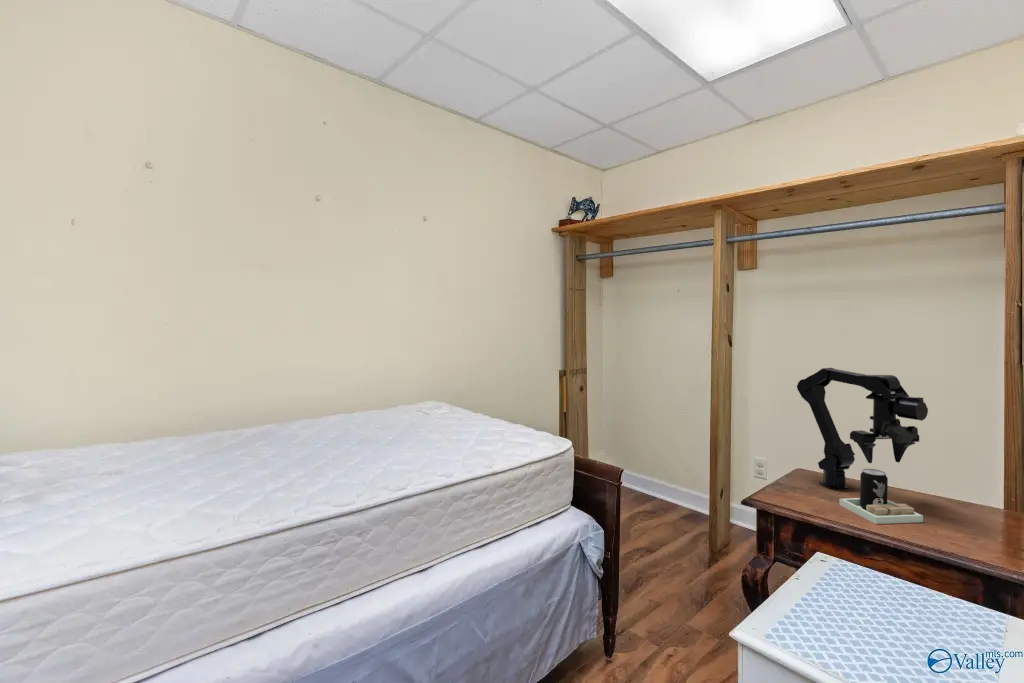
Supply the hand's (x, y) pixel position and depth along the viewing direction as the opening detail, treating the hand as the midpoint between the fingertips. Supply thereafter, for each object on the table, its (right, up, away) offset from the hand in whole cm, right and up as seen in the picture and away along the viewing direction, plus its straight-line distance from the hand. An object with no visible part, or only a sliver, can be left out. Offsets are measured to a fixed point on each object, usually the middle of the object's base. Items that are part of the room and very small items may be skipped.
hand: (883, 462), depth 149 cm
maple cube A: (-12, -13, -13) cm, 22 cm away
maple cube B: (-8, -13, -13) cm, 20 cm away
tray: (-8, -14, -9) cm, 18 cm away
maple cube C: (-4, -13, -12) cm, 19 cm away
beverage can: (-8, -13, -7) cm, 17 cm away
